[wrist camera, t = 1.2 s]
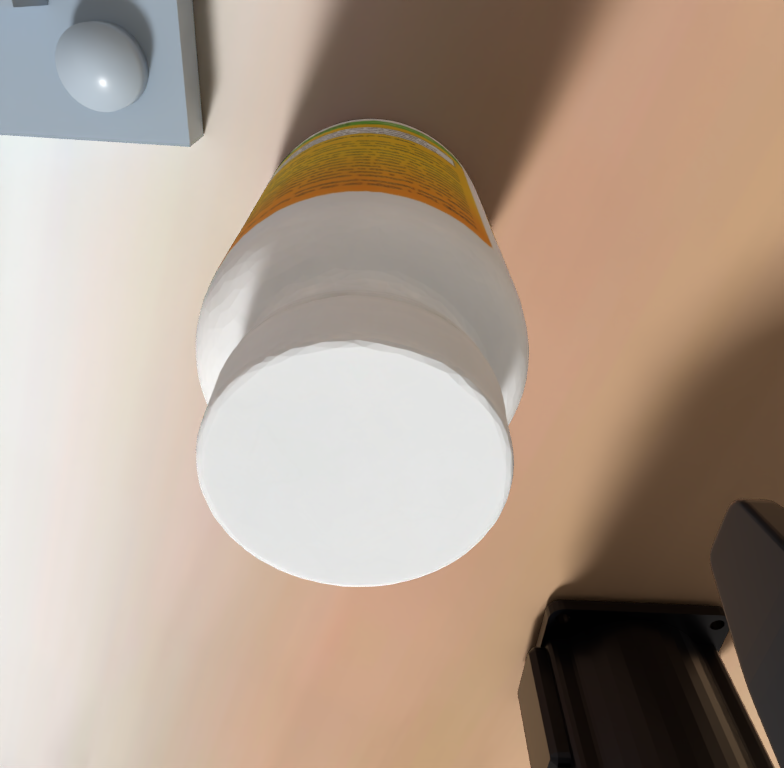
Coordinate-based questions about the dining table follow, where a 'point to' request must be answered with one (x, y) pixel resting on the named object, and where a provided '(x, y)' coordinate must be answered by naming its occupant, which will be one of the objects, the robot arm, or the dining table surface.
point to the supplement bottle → (361, 363)
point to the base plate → (100, 71)
